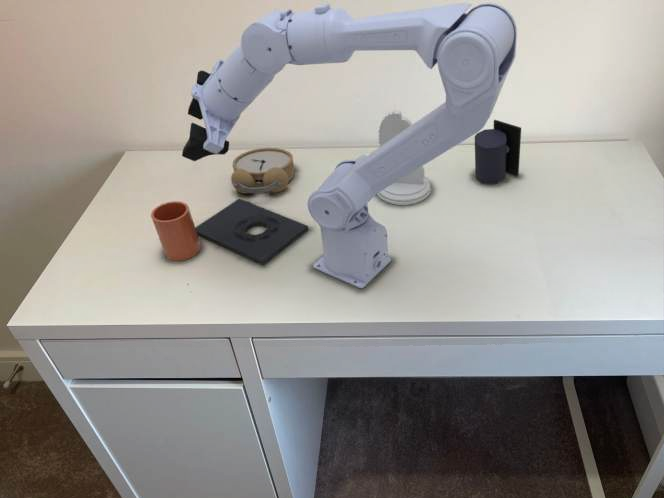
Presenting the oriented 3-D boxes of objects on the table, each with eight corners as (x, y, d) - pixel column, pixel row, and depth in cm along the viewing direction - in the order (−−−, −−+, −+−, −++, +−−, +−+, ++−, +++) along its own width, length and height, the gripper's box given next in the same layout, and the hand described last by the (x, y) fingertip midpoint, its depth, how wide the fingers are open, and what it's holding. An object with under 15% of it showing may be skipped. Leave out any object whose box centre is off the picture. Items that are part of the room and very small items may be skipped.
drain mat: (308, 229, 96) (307, 225, 95) (263, 265, 89) (262, 261, 89) (240, 202, 103) (239, 198, 102) (193, 233, 96) (192, 229, 96)
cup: (207, 246, 93) (196, 207, 88) (181, 264, 90) (167, 226, 85) (184, 235, 96) (172, 197, 91) (158, 253, 93) (143, 214, 88)
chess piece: (427, 206, 100) (429, 126, 90) (372, 203, 101) (367, 124, 91) (433, 177, 107) (434, 100, 97) (381, 174, 108) (377, 98, 98)
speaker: (499, 161, 110) (502, 113, 102) (519, 176, 106) (523, 127, 99) (467, 176, 108) (467, 128, 100) (485, 191, 104) (488, 142, 97)
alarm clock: (296, 146, 112) (285, 173, 99) (299, 170, 114) (289, 200, 101) (239, 148, 112) (220, 175, 99) (243, 172, 114) (225, 202, 102)
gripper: (214, 27, 76) (171, 85, 85) (203, 113, 70) (158, 165, 79) (260, 54, 80) (215, 106, 89) (254, 137, 74) (206, 184, 83)
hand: (191, 135), depth 84 cm, fingers open, 7 cm apart
